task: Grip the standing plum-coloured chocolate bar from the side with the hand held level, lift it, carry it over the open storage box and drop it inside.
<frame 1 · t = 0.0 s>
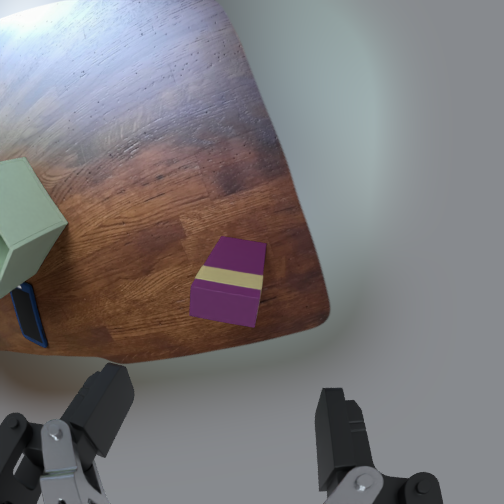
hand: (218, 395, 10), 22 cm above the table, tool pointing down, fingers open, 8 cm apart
open storage box: (27, 217, 33), on the table
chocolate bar: (242, 250, 32), on the table
cell phone: (28, 312, 40), on the table
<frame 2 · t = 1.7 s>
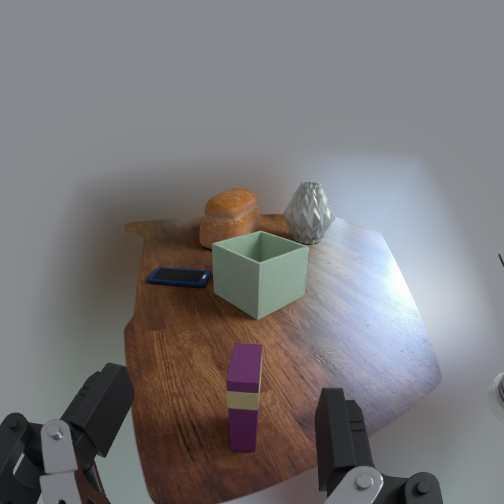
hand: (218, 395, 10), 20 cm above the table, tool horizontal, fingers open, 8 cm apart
vase: (307, 241, 92), on the table
open storage box: (258, 294, 59), on the table
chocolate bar: (245, 433, 28), on the table
bread: (232, 238, 93), on the table
cell phone: (179, 278, 65), on the table
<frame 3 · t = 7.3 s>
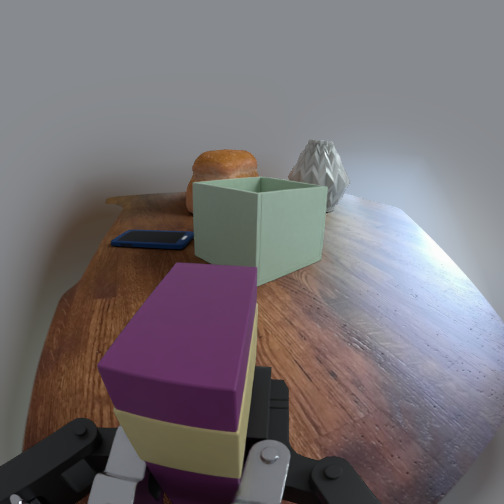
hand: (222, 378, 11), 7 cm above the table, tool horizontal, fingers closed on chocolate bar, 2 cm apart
vase: (317, 210, 75), on the table
open storage box: (257, 257, 42), on the table
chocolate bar: (221, 491, 11), on the table, touching gripper
bread: (227, 206, 76), on the table
cell phone: (152, 241, 48), on the table
when the fingers open (16 cm above the table, at t = 16.7 s): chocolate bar drops 9 cm, resting on open storage box.
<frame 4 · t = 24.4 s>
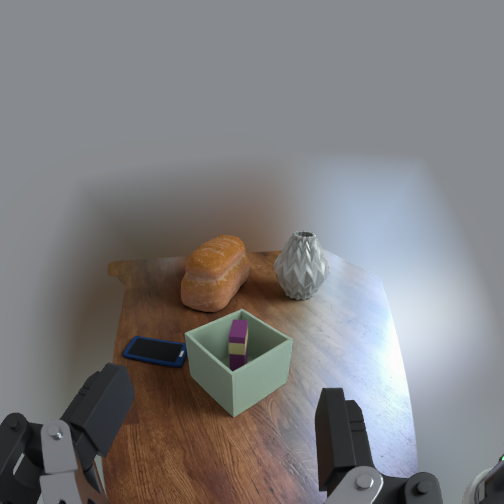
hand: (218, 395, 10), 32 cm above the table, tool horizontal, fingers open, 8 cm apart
vase: (299, 294, 84), on the table
open storage box: (238, 380, 51), on the table
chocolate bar: (238, 377, 51), point 1 cm above the table, touching open storage box
bread: (218, 291, 85), on the table
cell phone: (156, 352, 57), on the table
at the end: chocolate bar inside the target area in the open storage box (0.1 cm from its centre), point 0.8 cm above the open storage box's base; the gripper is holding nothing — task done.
